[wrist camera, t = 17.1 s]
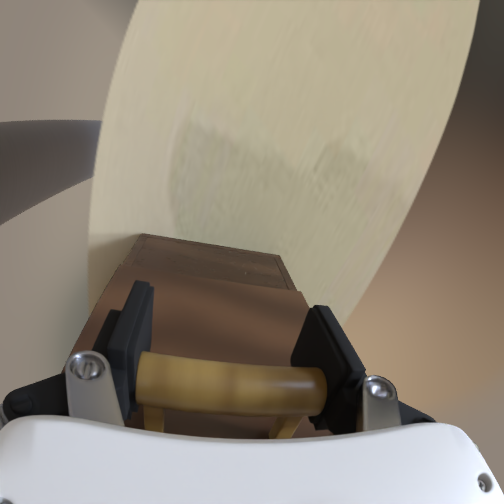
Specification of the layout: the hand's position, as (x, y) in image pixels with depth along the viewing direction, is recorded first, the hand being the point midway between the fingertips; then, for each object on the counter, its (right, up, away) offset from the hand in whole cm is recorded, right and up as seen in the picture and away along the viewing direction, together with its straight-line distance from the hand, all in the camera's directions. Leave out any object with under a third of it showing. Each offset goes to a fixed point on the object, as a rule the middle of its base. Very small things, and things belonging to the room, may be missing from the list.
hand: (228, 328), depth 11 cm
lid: (-1, -3, +4) cm, 5 cm away
